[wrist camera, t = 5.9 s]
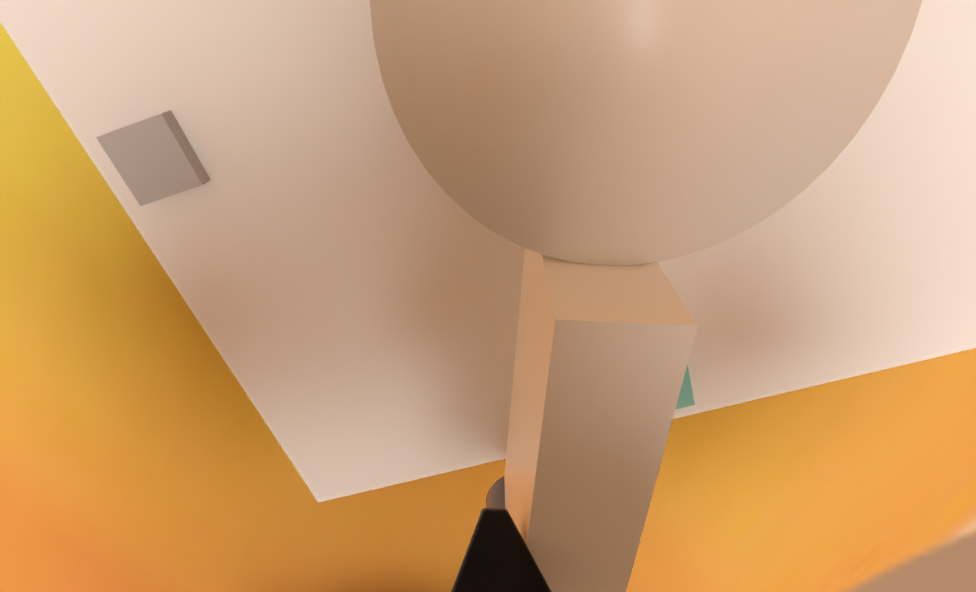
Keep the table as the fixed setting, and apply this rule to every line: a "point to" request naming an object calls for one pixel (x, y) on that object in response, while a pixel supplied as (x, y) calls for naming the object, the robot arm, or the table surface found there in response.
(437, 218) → the lock base
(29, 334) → the table surface
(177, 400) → the table surface
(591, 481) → the lock lever
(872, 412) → the table surface
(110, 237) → the table surface
